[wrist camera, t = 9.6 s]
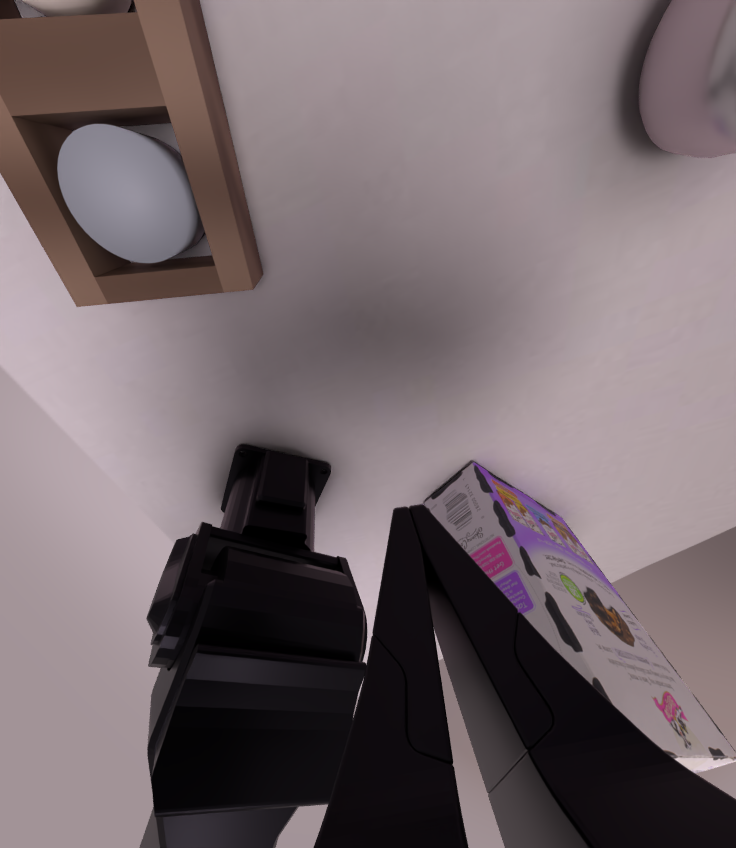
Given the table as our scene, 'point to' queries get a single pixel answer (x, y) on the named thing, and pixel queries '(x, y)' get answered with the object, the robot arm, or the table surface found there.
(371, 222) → the table surface
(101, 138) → the button grey
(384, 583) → the robot arm
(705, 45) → the plastic bottle
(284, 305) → the table surface
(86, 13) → the button cream
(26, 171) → the button panel
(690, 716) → the candy box
